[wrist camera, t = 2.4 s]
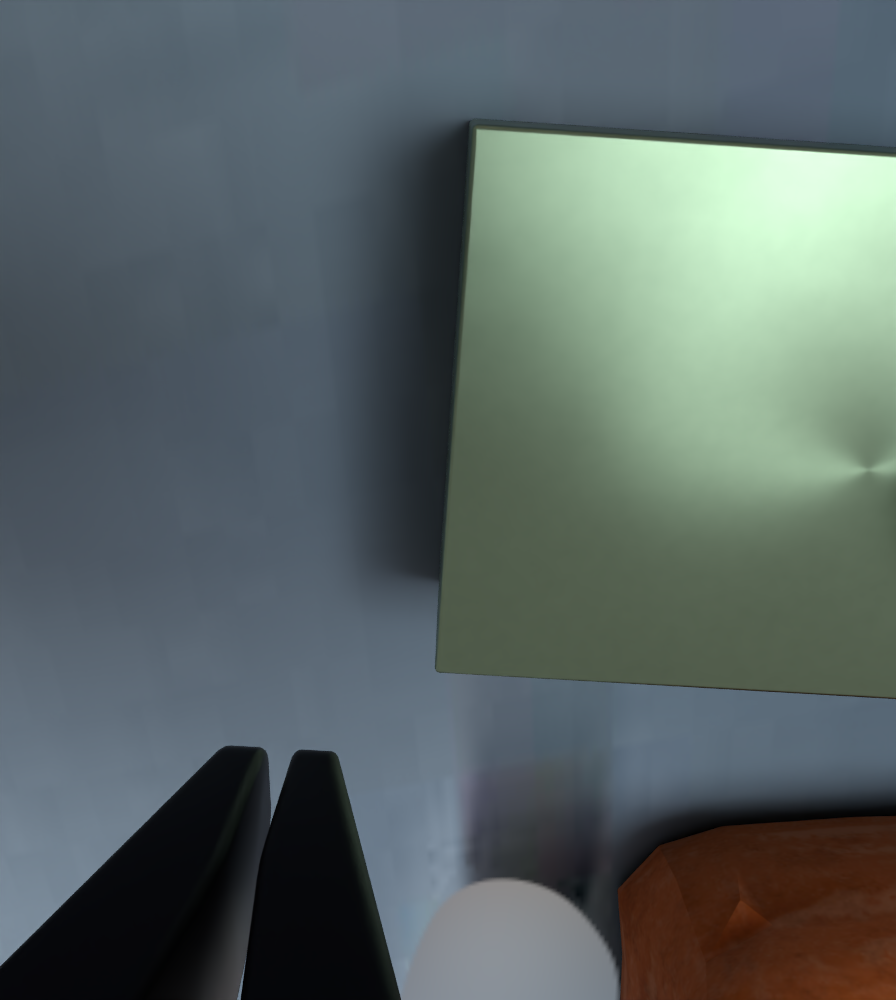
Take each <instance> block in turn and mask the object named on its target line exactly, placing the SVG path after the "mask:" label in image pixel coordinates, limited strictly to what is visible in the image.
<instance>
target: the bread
mask: <svg viewBox="0 0 896 1000" xmlns="http://www.w3.org/2000/svg"><path fill="white" fill-rule="evenodd" d="M618 903H619V917H620V930H621V944H622V972H621V993H620V1000H896V816H873V817H846V818H832V819H818V820H804V821H789V822H775V823H761V824H747V825H732V826H721V827H718V828H715V829H712V830H708V831H705V832H702V833H699V834H695V835H692V836H689V837H686V838H682V839H679V840H676V841H672V842H669V843H666V844H663V845H659V846H658V847H657V848H656V849H655V850H654V851H653V852H652V853H651V855H650V856H649V857H648V858H647V859H646V860H645V861H644V862H643V863H642V864H641V865H640V866H639V867H638V868H637V869H636V870H635V872H634V873H633V874H632V875H631V876H630V877H629V878H628V879H627V880H626V881H625V882H624V883H623V884H622V885H621V886H620V887H619V888H618Z"/></svg>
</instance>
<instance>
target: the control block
mask: <svg viewBox="0 0 896 1000" xmlns="http://www.w3.org/2000/svg"><path fill="white" fill-rule="evenodd" d="M435 669H436V671H437V672H440V673H457V674H474V675H492V676H509V677H526V678H543V679H561V680H578V681H595V682H612V683H630V684H647V685H664V686H681V687H699V688H716V689H733V690H750V691H768V692H785V693H802V694H819V695H837V696H854V697H871V698H888V699H896V147H882V146H868V145H853V144H839V143H824V142H810V141H795V140H780V139H766V138H751V137H737V136H722V135H707V134H693V133H678V132H664V131H649V130H634V129H620V128H605V127H591V126H576V125H562V124H547V123H532V122H518V121H503V120H489V119H472V120H471V121H470V123H469V136H468V151H467V166H466V181H465V196H464V211H463V226H462V241H461V256H460V271H459V286H458V301H457V316H456V331H455V346H454V361H453V376H452V392H451V407H450V422H449V437H448V452H447V467H446V482H445V497H444V512H443V527H442V542H441V557H440V572H439V589H438V611H437V634H436V656H435Z"/></svg>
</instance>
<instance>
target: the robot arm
mask: <svg viewBox="0 0 896 1000" xmlns="http://www.w3.org/2000/svg"><path fill="white" fill-rule="evenodd" d="M270 818H271V800H270V781H269V762H268V755H267V753H266V751H265V750H264V749H263V748H260V747H247V746H225V747H223V748H221V749H220V750H218V751H217V752H216V753H215V754H214V755H213V756H212V757H211V758H210V759H209V760H208V761H207V762H206V763H205V764H204V765H203V766H202V767H201V768H200V769H199V770H198V771H197V772H196V773H195V774H194V775H193V776H192V777H191V778H190V779H189V780H188V781H187V782H186V783H185V784H184V785H183V786H182V787H181V788H180V789H179V790H178V791H177V792H176V793H175V794H174V795H173V796H172V797H171V798H170V799H169V800H168V801H167V802H166V803H165V804H164V805H163V806H162V807H161V808H160V809H159V810H158V811H157V812H156V813H155V814H154V815H153V816H152V817H151V818H150V819H149V820H148V821H147V822H146V823H145V824H144V825H143V826H142V827H141V828H140V829H139V830H138V831H137V832H135V833H134V834H133V835H132V836H131V837H130V838H129V839H128V840H127V841H126V842H125V843H124V844H123V845H122V846H121V847H120V848H119V849H118V850H117V851H116V852H115V853H114V854H113V855H112V856H111V857H110V858H109V859H108V860H107V861H106V862H105V863H104V864H103V865H102V866H101V867H100V868H99V869H98V870H97V871H96V872H95V873H94V874H93V875H92V876H91V877H90V878H89V879H88V880H87V881H86V882H85V883H84V884H83V885H82V886H81V887H80V888H79V889H78V890H77V891H76V892H75V893H74V894H73V895H72V896H71V897H70V898H69V899H68V900H67V901H66V902H65V903H64V904H63V905H62V906H61V907H60V908H59V909H58V910H57V911H56V912H55V913H54V914H53V915H52V916H51V917H50V918H49V919H48V920H47V921H46V922H45V923H44V924H43V925H42V926H41V927H40V928H39V929H38V930H37V931H36V932H35V933H34V934H33V935H32V936H31V937H30V938H28V939H27V940H26V941H25V942H24V943H23V944H22V945H21V946H20V947H19V948H18V949H17V950H16V951H15V952H14V953H13V954H12V955H11V956H10V957H9V958H8V959H7V960H6V961H5V962H4V963H3V964H2V965H1V966H0V1000H237V997H238V992H239V988H240V983H241V978H242V974H243V969H244V964H245V959H246V964H245V971H244V979H243V986H242V994H241V1000H401V997H400V994H399V990H398V986H397V982H396V978H395V974H394V970H393V967H392V963H391V959H390V955H389V951H388V947H387V943H386V940H385V936H384V932H383V928H382V924H381V920H380V916H379V913H378V909H377V905H376V901H375V897H374V893H373V889H372V886H371V882H370V878H369V874H368V870H367V866H366V862H365V859H364V855H363V851H362V847H361V843H360V839H359V835H358V832H357V828H356V824H355V820H354V816H353V812H352V808H351V805H350V801H349V797H348V793H347V789H346V785H345V781H344V778H343V774H342V770H341V766H340V762H339V759H338V756H337V755H336V753H334V752H332V751H317V750H298V751H296V752H295V754H294V755H293V756H292V759H291V762H290V765H289V768H288V771H287V774H286V778H285V781H284V784H283V787H282V790H281V793H280V796H279V800H278V803H277V806H276V809H275V812H274V815H273V818H272V821H271V825H270ZM246 953H247V956H246Z"/></svg>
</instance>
